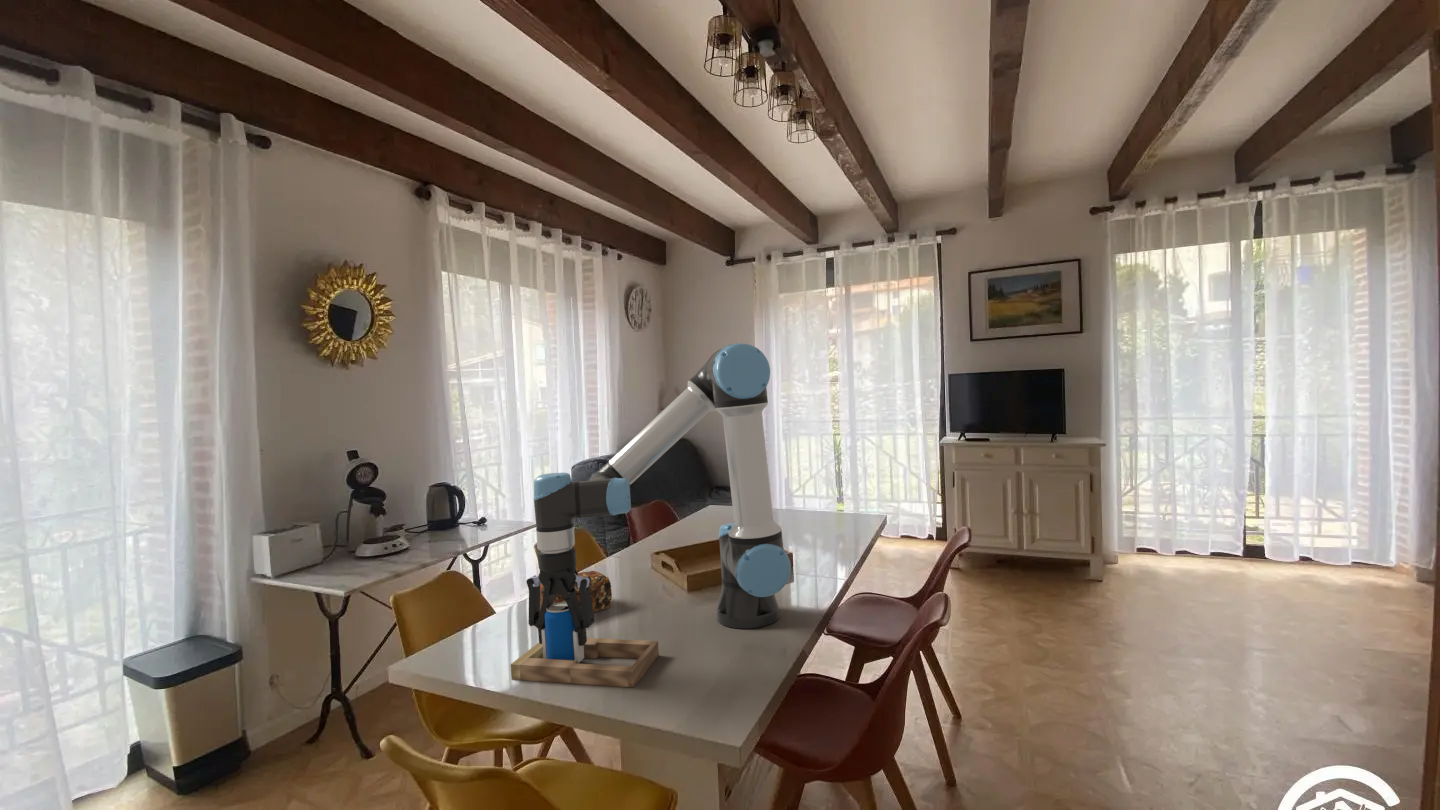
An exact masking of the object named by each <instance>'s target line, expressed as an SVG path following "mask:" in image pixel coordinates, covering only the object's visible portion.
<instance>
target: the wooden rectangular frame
mask: <svg viewBox="0 0 1440 810" xmlns="http://www.w3.org/2000/svg"><path fill="white" fill-rule="evenodd" d="M659 651H660V650H659V640H644V639H642V640H641V639H640V640H639V639H638V640H637V639H620V638H619V639H618V638H617V639H616V638H599V637H598V638H596V637H587V642H586V643H585V644H584V658H583V659H594V660H596V659H597V658H598V657H603V658H604V657H605V658H621V659H636V661H635V662H634V663H633V664H632V665H631V666H629V665H627V666H626V665H610V664H593V663H578V661H576V660H558V659H543V647H542V644H540V643H539V642H538V643H536V644H535V645H533V646H532V647H531V648H530V649H528V650H527V651H526V652H525V653H524V654H522V655H521V656H520V657H518V658H516V660H514V661H513V662H511V663H510V673H511V674H510V677H511V678H510V679H511V680H515V681H516V680H518V681H519V680H520V681H529V682H530V681H531V682H547V683H548V682H549V683H560V684H561V683H564V684H575V685H576V684H577V685H578V684H579V685H590V686H591V685H592V686H594V685H595V686H606V687H607V686H609V687H623V688H634V687H635V686H636V685H637V684H638V682H639V681H640V680H641V679H642V677H643V676H644V675H645V674H646V672H647V671H648V670H649V669H650V668H651V666H652V665H653V663H654V662H656V660H657V658H658V657H659V656H660V653H659Z"/></svg>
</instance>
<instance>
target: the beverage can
mask: <svg viewBox="0 0 1440 810" xmlns="http://www.w3.org/2000/svg"><path fill="white" fill-rule="evenodd" d="M546 610H547V611H546V613H545V630H546V645H547V659H558V660H575V658H574V643H573V631H574V630H575V629H576V627H575V624H574V622H573V619H572V616H571V614H570V611H569V608H568V606H567V603H566V602H560V603H555V604H552V605H551V606H550V607H549V608H546Z"/></svg>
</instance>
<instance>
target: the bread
mask: <svg viewBox="0 0 1440 810" xmlns="http://www.w3.org/2000/svg"><path fill="white" fill-rule="evenodd" d="M577 573H578V575H579V576H582V577H585V578H586V577H587V576H589V577H591V584H590V593H591V600H592V606H593V613H597V612H600V611H602V610H607V609H609V608H610V607H612V599H613V597H612V596H613V594H612V584H611V580H610V579H609V577H608V576H606V575H604V574H603V573H600V572H599V571H597V570H590V571H583V572H582V571H581V572H577ZM574 587H575V589H576V596H577V598H578V601H579V604H580V606H581V602H580V595H579V588H578V583H577V582H576V583H575V585H574ZM544 589H545V588H544V586H543V585H542V583H541V584H540V609H541V605H542V601H543V593H544ZM568 593H569V592H568ZM560 602H566V601H565V600H564V599H563V596H562V595H559V594H555V596H554V599H553V603H552V604H555V603H560Z"/></svg>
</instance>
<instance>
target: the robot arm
mask: <svg viewBox="0 0 1440 810" xmlns="http://www.w3.org/2000/svg"><path fill="white" fill-rule="evenodd" d="M770 377H771V367H770V362H769V360H768V358H767V357H766V355H765V354H764V352H763V351H761V350H760V349H759V348H758V347H756V346H754V345H752V344H748V343H743V342H741V343H732V344H728V345H726V346H724V347H723V348H721V349H718V350H716V351H715V352H714V353H712V355H711V356H710V357H709V358H708V359H707V360H706V361H705V363H704V364H703V365H702V366H701V368H700V369H699V370H698V371H697V372H696V373H695V374H694V375H693V376H692V377H691V378H690V379H689V380H688V381H687V387H686V388H685V390H684V391H683V392H681V394H679V395H678V396H677V397H676V398H675V399H674V400H672V402H670V403H669V404H668V405H667V406H666V407H665V408H664V409H662V411H661V412H660V413H659V414H658V415H657V416H656V417H655V418H653V419H652V420H651V421H650V422H649V423H648V424H646V426H645V427H644V428H643V429H642V430H641V431H639V432H638V433H637V434H636V435H635V436H634V437H633V438H631V440H630V441H629V442H627V444H626V445H624V446H623V448H621V449H620V450H618V452H617V453H616V454H614V456H612V457H611V458H610V459H609V460H608V462H607V463H605V464H604V465H603V466H602V467H601V468H599V470H598V471H595V472H593V473H592V474H591V475H590V476H589V478H587V480H584V481H583V480H582V481H575V480H574V481H572V478H571V475H570V473H568V472H549V473H545V474H544V473H543V474H541V475H540V474H539V475H538V476H536V477H535V478H534V479H533V506H534V515H535V528H536V531H535V532H536V547H537V550H538V553H537V562H538V569H539V573H538V575H535V574H534V575H533V576H530V577H529V578H527V579H526V585H527V588H528V625H529V626H530V627H535V628H536V629H537V633H538V643H540V644H542V647H543V659H547V645H546V630H545V613H546V611H547V610H546V608H549V607H550V606H551V605H552V603H553V599H554V596H555V594H559V595H562V596H563V599H564V600H565V601H566V603H567V606H568V608H569V611H570V614H571V616H572V619H573V622H574V624H575V627H576V629H575V630H574V631H573V643H574V658H575V660H576V661H578V664H580V662H581V661H582V660H584V659H585V658H584V644H585V643H586V642H587V638H588V636H587V629H589V628H590V627H592V625H593V624H594V623H595V616H594V615H595V614H594V613H595V612H594V613H593V606H592V600H591V593H590V584H591V577H589V576H587V577H586V578H585V577H582V576H579V575H578V573H579V572H578V571H577V554H576V548H575V547H574V546H575V544H576V540H575V523H574V519H582V518H591V517H604V516H614V517H615V516H617V515H621V514H627V513H629V512H630V511H631V508H632V505H631V504H632V503H631V488H630V486H631V485H632V484H633V483H634V482H636V480H637V479H639V477H641V475H643V474H644V473H645V472H646V471H647V470H649V469H650V467H651V466H653V464H655V462H657V461H658V460H659V459H661V457H662V456H663V455H664V454H666V452H667V451H668V450H669V449H671V448H672V447H673V446H674V445H675V444H676V443H677V442H678V441H679V440H681V439H682V437H683V436H685V435H686V434H687V433H688V432H689V431H690V430H691V429H692V428H693V427H694V426H696V424H698V423H699V422H700V421H701V420H702V419H703V418H704V417H705V416H706V415H707V414H708V413H709V412H717V413H718V414H720V415H721V416H722V421H723V430H724V431H723V432H724V439H725V448H726V451H725V452H726V458H727V459H726V460H727V466H728V467H727V468H728V476H729V477H728V478H729V486H730V494H731V504H732V514H733V515H732V516H733V522H727V523H723V524H721V525H720V527H719V530H718V532H719V533H718V541H719V552H720V555H719V556H720V569H721V590H720V594H719V597H718V602H717V606H716V620H717V622H718V623H719V624H721V625H723V626H725V627H728V628H733V629H757V628H763V627H766V626H770V625H771V624H774V623H775V622H777V621H778V620H779V619H780V607H779V603H778V600H777V598H776V596H775V594H777V593H778V592H780V591H781V590H782V589H783V588H784V587H785V586H786V584H787V583H788V581H789V580H790V577H791V573H792V570H791V569H792V564H791V560H790V558H789V556H788V554H787V551H786V550H784V540H783V532H782V531H783V530H782V526H780V524H778V523H776V521H775V520H774V514H773V513H774V512H773V503H772V494H771V485H770V477H769V466H768V465H769V464H768V456H767V446H766V439H765V429H764V428H765V427H764V419H763V411H764V409H765V408H766V407H767V406H768V404H769V401H768V399H769V398H768V390H767V387H768V384H769V381H770V379H771V378H770ZM576 582H577V583H578V588H579V595H580V602H581V606H580V604H579V601H578V598H577V596H576V589H575V587H574V585H575V583H576ZM541 583H542V585H543V586H544V588H545V589H544V593H543V601H542V605H541V609H540V584H541ZM568 592H569V593H568Z"/></svg>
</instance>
